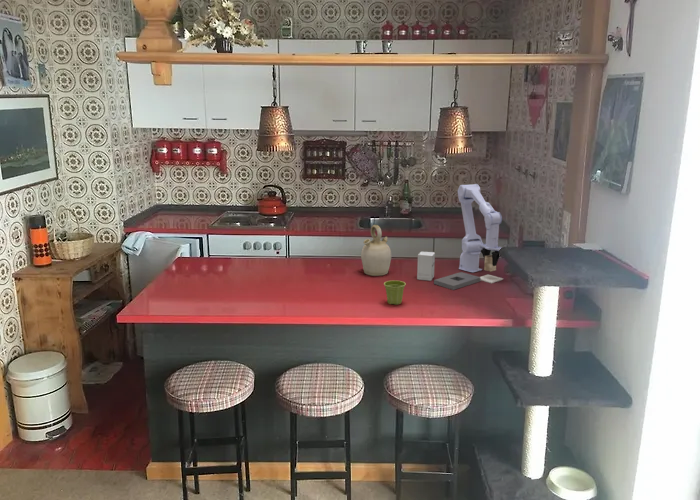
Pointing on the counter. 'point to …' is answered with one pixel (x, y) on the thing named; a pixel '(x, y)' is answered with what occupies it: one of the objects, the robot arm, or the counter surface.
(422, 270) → the supplement box
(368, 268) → the jug
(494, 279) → the mat
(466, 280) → the grey flat block
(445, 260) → the counter surface
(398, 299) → the plant pot
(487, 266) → the plug
